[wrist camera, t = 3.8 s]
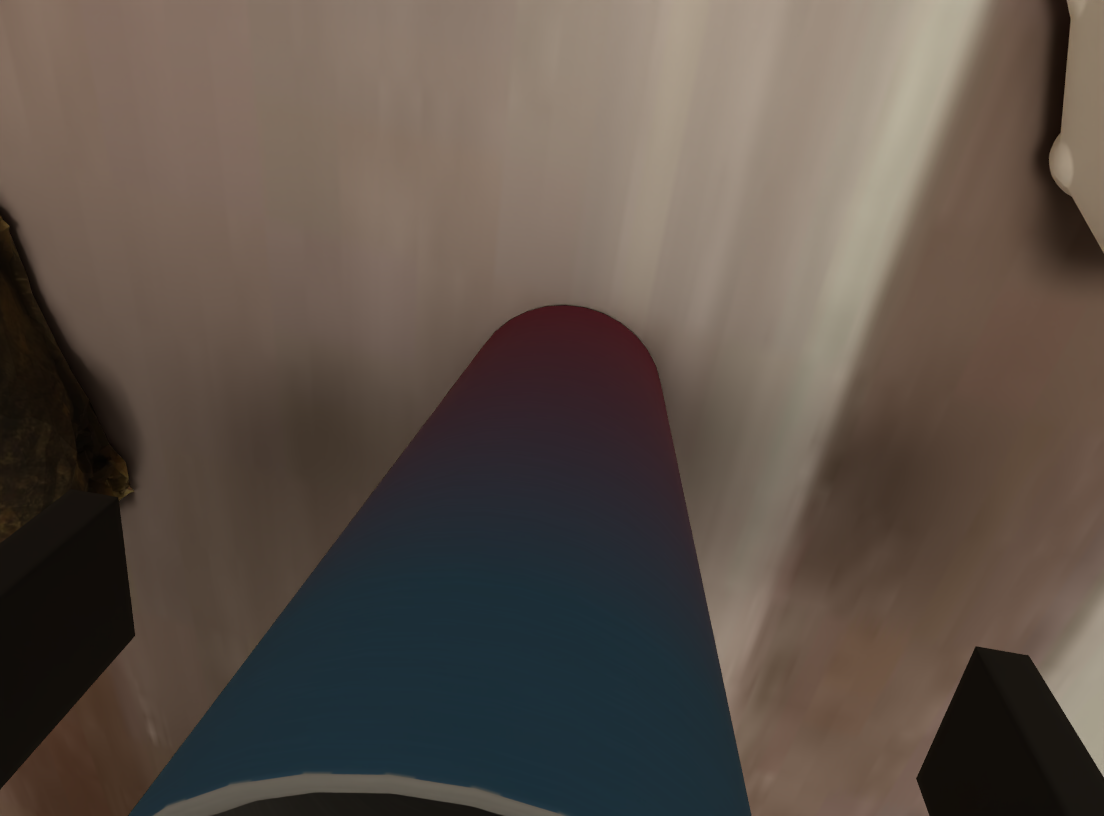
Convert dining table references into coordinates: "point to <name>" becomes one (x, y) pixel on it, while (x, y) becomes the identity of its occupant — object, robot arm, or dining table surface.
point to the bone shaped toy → (1083, 116)
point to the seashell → (43, 411)
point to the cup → (493, 618)
